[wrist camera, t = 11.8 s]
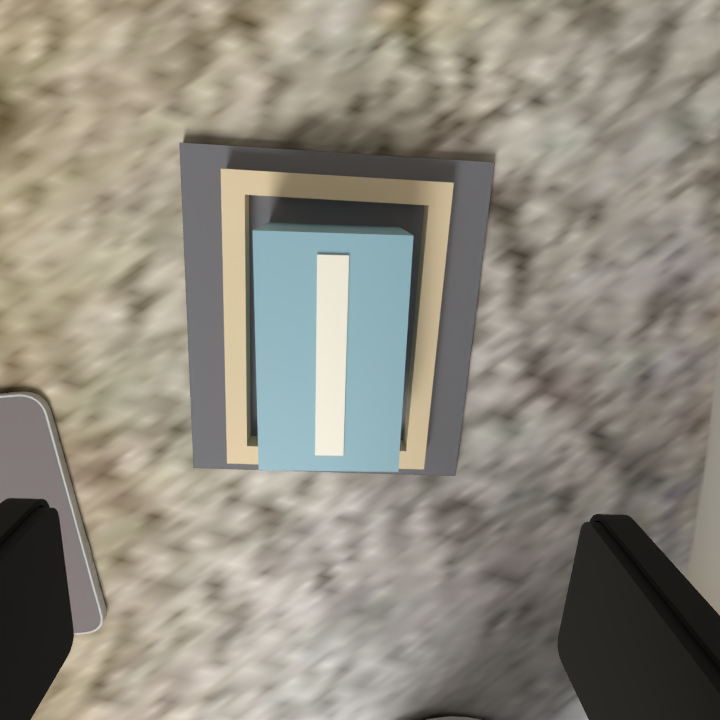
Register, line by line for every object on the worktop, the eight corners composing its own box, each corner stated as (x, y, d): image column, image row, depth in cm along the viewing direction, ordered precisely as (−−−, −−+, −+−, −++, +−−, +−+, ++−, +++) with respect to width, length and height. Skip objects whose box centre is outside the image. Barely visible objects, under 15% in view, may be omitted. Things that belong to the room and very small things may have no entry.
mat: (453, 471, 29) (460, 487, 28) (195, 463, 29) (187, 479, 27) (491, 162, 25) (502, 161, 23) (182, 143, 24) (171, 140, 22)
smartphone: (42, 392, 27) (107, 631, 31) (51, 385, 28) (113, 619, 32) (-108, 405, 27) (-21, 644, 31) (-94, 398, 27) (-11, 631, 32)
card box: (268, 222, 25) (252, 230, 20) (398, 226, 25) (413, 235, 20) (272, 421, 28) (258, 471, 23) (387, 423, 28) (398, 473, 23)
